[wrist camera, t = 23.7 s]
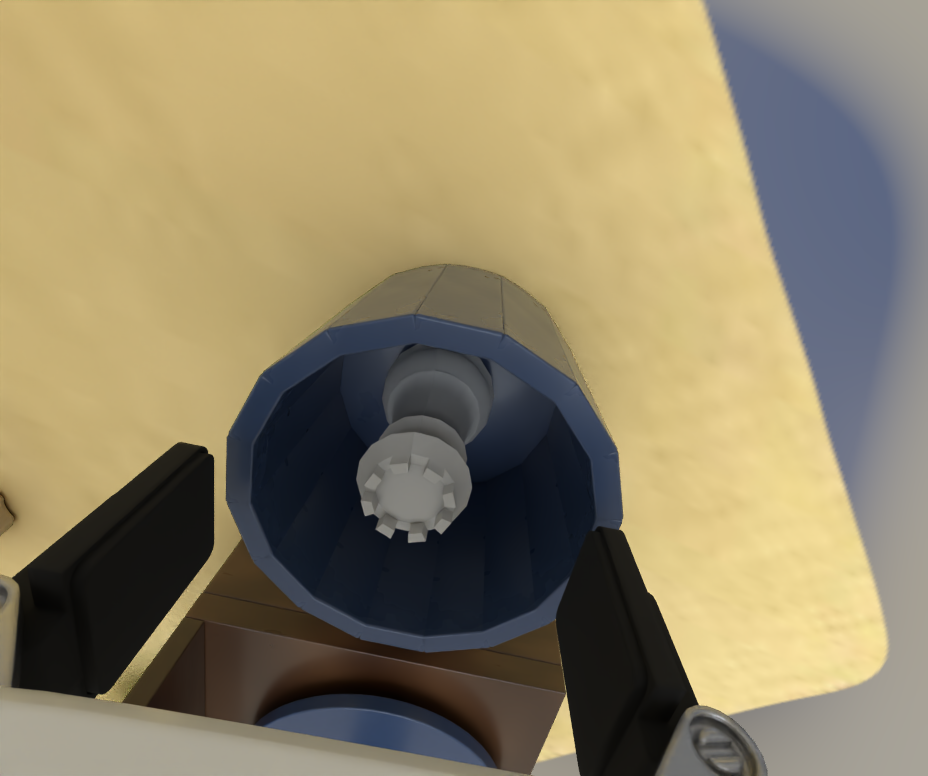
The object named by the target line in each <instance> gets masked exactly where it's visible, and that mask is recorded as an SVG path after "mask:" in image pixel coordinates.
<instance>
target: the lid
mask: <svg viewBox="0 0 928 776" xmlns="http://www.w3.org/2000/svg"><path fill="white" fill-rule="evenodd" d="M255 726H261V727H267V728H272V729H278V730H284V731H289V732H295V733H301V734H306V735H312V736H318V737H323V738H329V739H334V740H340V741H346V742H351V743H357V744H362V745H368V746H374V747H379V748H385V749H391V750H396V751H402V752H407V753H413V754H418V755H424V756H429V757H434V758H440V759H445V760H451V761H456V762H462V763H467V764H473V765H478V766H483V767H489V768H494V769H497V767H496V765H495V763H494V761H493V760H492V758H491V756H490V755H489V754H488V752H487V751H486V750H485V749H484V747H483V746H482V745H481V744H480V743H479V742H478V741H477V740H476V739H475V738H474V737H472V736H471V735H470V734H469V733H468V732H466V731H465V730H463V729H462V728H461V727H459V726H458V725H456V724H455V723H453V722H451V721H450V720H448V719H446V718H444V717H443V716H441V715H438V714H436V713H434V712H432V711H429V710H427V709H425V708H422V707H419V706H416V705H413V704H410V703H407V702H403V701H399V700H395V699H391V698H386V697H380V696H373V695H363V694H329V695H320V696H313V697H309V698H304V699H300V700H296V701H294V702H291V703H288V704H285V705H283V706H281V707H279V708H277V709H275V710H273V711H271V712H269V713H268V714H267V715H265V716H264V717H262V718H261V719H260V720H259V721H258V722H257V723H256V724H255Z"/></svg>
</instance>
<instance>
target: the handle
mask: <svg viewBox="0 0 928 776" xmlns="http://www.w3.org/2000/svg"><path fill="white" fill-rule="evenodd" d="M13 519H14V516H12V515H11V514H10V513H9V511H8V510H7V508H6V506H5V504H4V498H3V497H2V496H1V495H0V536H1V535H2V534H3V533H4V532H6V531H7V530H8V529H9V528H10V527H11V526H12V525H13Z"/></svg>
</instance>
